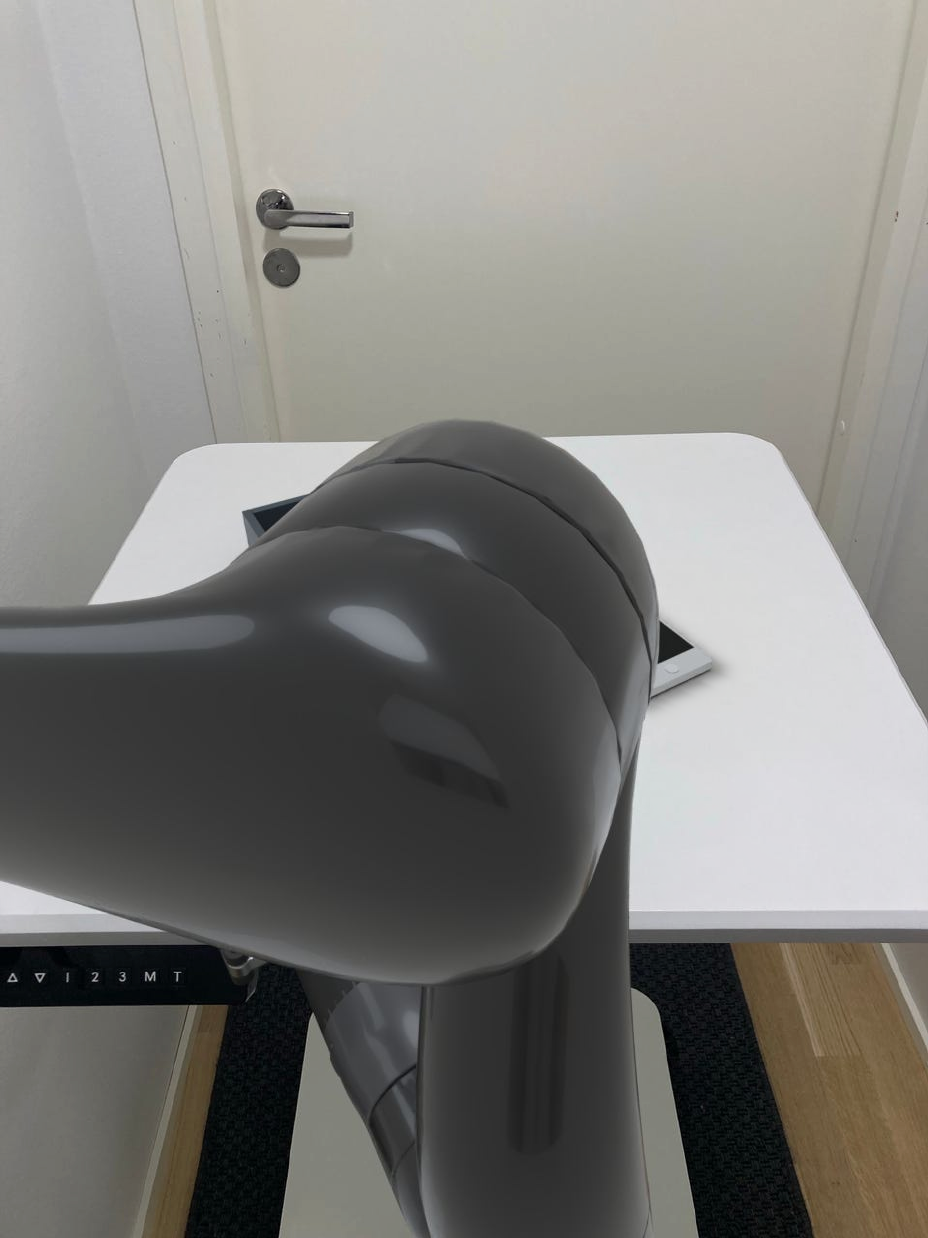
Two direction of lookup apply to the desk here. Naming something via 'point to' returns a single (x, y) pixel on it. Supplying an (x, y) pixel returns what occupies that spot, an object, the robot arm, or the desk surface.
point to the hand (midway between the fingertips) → (293, 794)
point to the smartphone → (677, 659)
